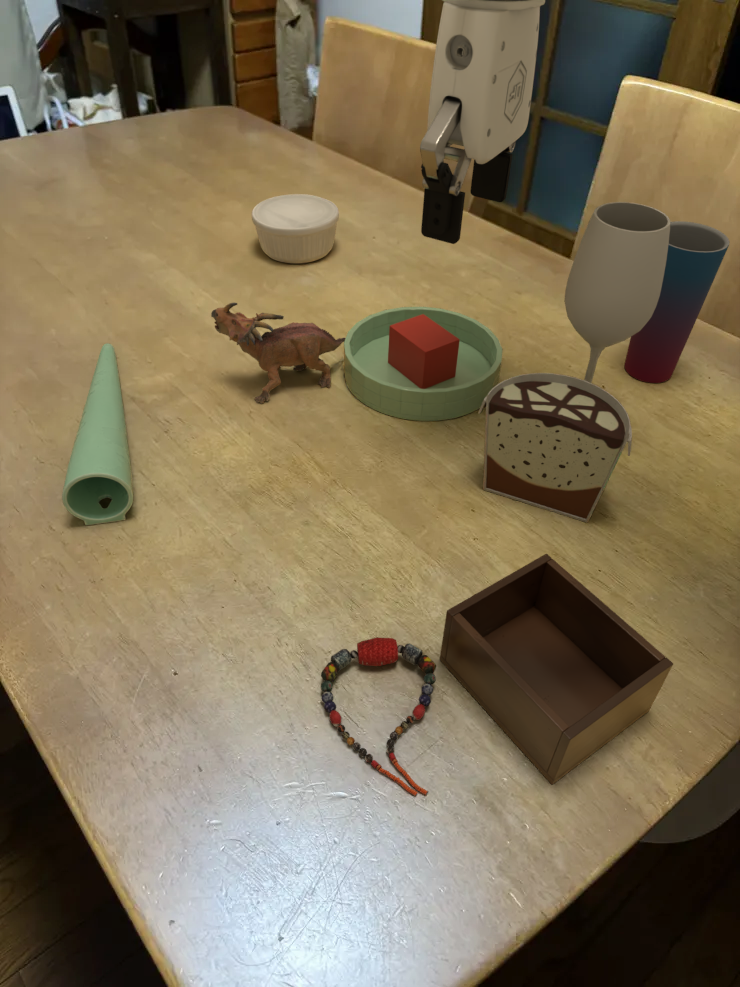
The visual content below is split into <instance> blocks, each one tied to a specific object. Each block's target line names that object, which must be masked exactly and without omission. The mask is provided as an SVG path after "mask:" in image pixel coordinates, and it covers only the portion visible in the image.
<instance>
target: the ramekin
mask: <svg viewBox="0 0 740 987" xmlns="http://www.w3.org/2000/svg"><path fill="white" fill-rule="evenodd" d="M339 218H340V210H339V208H338V206H337V204H336V203H334V202H333V201H331V200H329V199H326V198H324V197H322V196H318V195H314V194H307V193H292V194H291V193H289V194H281V195H275V196H272V197H268V198H266V199H264V200H262V201H260V202H258V203H257V204H256V205H255V206H254V207H253V209H252V210H251V220H252V224H253V225H254V227H255V231H256V235H257V239H258V242H259V246H260V248H261V250H262V251H263V253H264V254H266V256H267V257H269V258H270V259H272V260H274V261H277V262H279V263H286V264H307V263H312V262H315V261H318V260H321V259H322V258H325V257H326V256H328V254H329V253H330V251H331V250H332V249H333V247H334V244H335V239H336V231H337V223H338V221H339Z"/></svg>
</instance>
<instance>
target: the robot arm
mask: <svg viewBox="0 0 740 987" xmlns="http://www.w3.org/2000/svg"><path fill="white" fill-rule="evenodd" d="M441 1H442V2H443V4H442V8H441V14H440V20H439V26H438V32H437V37H436V38H437V39H436V45H435V51H434V57H433V65H432V74H431V81H430V82H431V83H430V91H429V100H428V110H427V126H426V131H425V134H424V136H423V137H422V139H421V141H420V145H419V152H420V156H421V166H420V171H421V175H422V188H423V202H422V216H421V228H420V232H421V235H422V236H423V237H425V238H429V239H433V240H436V241H440V242H444V243H447V244H452V245H455V244H457V243H458V242H459V241H460V239H461V233H462V225H463V215H464V207H465V200H466V199H465V198H466V192H464V191H461V190H462V188H463V185H464V182H465V179H466V176H467V173H468V170H469V168H470V166H471V162H472V160H473V166H472V175H471V182H470V194H471V196H473V197H476V198H479V199H484V200H488V201H492V202H496V203H502V202H504V201H505V200H506V198H507V194H508V193H507V192H508V187H509V181H510V175H511V169H512V161H513V156H514V155H513V151H514V149H515V147H516V142H517V140H518V139H520V137H522V136H523V135H524V133H525V132H526V131H527V127H528V124H529V119H530V111H531V103H532V96H533V89H534V87H533V86H534V81H535V80H534V79H535V73H536V62H537V53H538V44H539V31H540V14H541V12H540V11H541V6H544V5H545V3H546V0H441ZM453 145H455V147H454V146H453ZM456 146H461V147H463V148H460V147H456ZM445 160H448V161H452V162H457V163H456V166H455V169H454V170H453V171H452V169H451V167H450V165H449V163H448V162H445Z"/></svg>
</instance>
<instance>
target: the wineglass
mask: <svg viewBox="0 0 740 987" xmlns="http://www.w3.org/2000/svg"><path fill="white" fill-rule="evenodd" d="M670 222H671V219H670V217H669V216H668V215H667V214H666V213H664V212H663V211H662V210H660V209H658V208H655V207H652V206H650V205H647V204H642V203H637V202H629V201H611V202H606V203H603V204H600V205H598V206H596V208H595V209H594V210H593V213H592V215H591V217H590V219H589V221H588V223H587V226H586V228H585V229H584V233H583V235H582V236H581V239H580V242H579V245H578V248H577V251H576V253H575V255H574V259H573V262H572V265H571V267H570V271H569V274H568V277H567V282H566V286H565V290H564V306H565V312H566V316H567V319H568V320H569V322H570V324H571V325H572V327H573V329H574V331H575V332H576V333H577V334H578V335H579V336H580V337H581V338H582V339H583V340H584V341H585V342H586V343H587V344H588V345H589V348H590V353H589V361H588V364H587V367H586V372H585V375H584V379H583V380H585V381H587V382H590V383H592V384H593V380H594V375H595V372H596V368H597V364H598V360H599V358H600V356H601V354H602V352H603V351H604V350H605V349H606V348H608V347H612V346H615V345H617V344H619V343H622V342H625V341H627V340H628V339H630V338H631V336H633V335H634V334H636V333H637V332H639V331H640V330H641V329H642V328H643V327H644V326H645V324H646V323H647V322H648V321H649V319H650V318H651V317H652V314H653V312H654V310H655V308H656V305H657V302H658V299H659V296H660V292H661V287H662V282H663V277H664V271H665V265H666V260H667V252H668V244H669V234H670Z"/></svg>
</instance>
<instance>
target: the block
mask: <svg viewBox="0 0 740 987" xmlns="http://www.w3.org/2000/svg"><path fill="white" fill-rule="evenodd" d="M459 341H460V339H458V338H457V337H455V336H454V335H453V334H451V333H450V332H448V331H447V330H445V329H444V328H443V327H441V326H440V325H438V324H437V323H435V322H434V321H433V320H431V319H430V318H428V317H427V316H425V315H424V314H422V315H419V316H416V317H413V318H410V319H407V320H404V321H401V322H399V323H396V324H393V325H390V327H389V349H388V363H389V364H390V365H391V366H393V367H394V368H395V369H396V370H398V371H399V372H400V373H402V374H403V375H404V376H405V377H407V378H408V379H409V380H410V381H412V382H413V383H414V384H415V385H417V386H418V387H419V388H420V389H426V388H428V387H431V386H433V385H436V384H438V383H441V382H443V381H446V380H448V379H451V378H453V377H455V374H456V366H457V358H458V350H459Z"/></svg>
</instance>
